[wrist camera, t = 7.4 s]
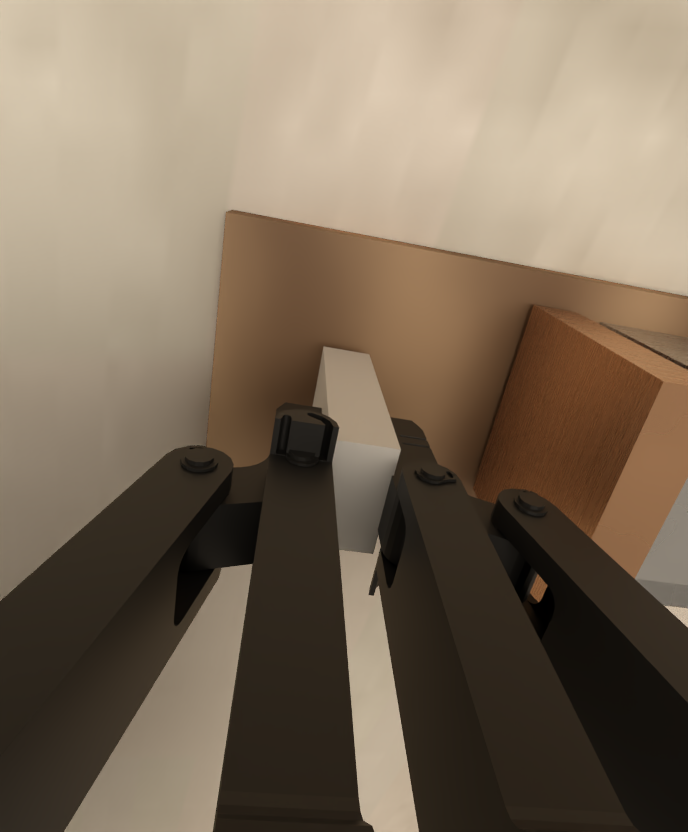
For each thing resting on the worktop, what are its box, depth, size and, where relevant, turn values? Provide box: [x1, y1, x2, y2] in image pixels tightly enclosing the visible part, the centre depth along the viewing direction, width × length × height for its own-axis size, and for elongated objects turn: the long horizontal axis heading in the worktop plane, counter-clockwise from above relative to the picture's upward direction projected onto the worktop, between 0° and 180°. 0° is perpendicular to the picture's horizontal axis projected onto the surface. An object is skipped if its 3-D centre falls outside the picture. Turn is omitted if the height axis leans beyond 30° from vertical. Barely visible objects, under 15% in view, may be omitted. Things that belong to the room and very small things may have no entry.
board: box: [206, 210, 688, 498], centre depth 20 cm, size 32×9×1 cm, turn 80°
